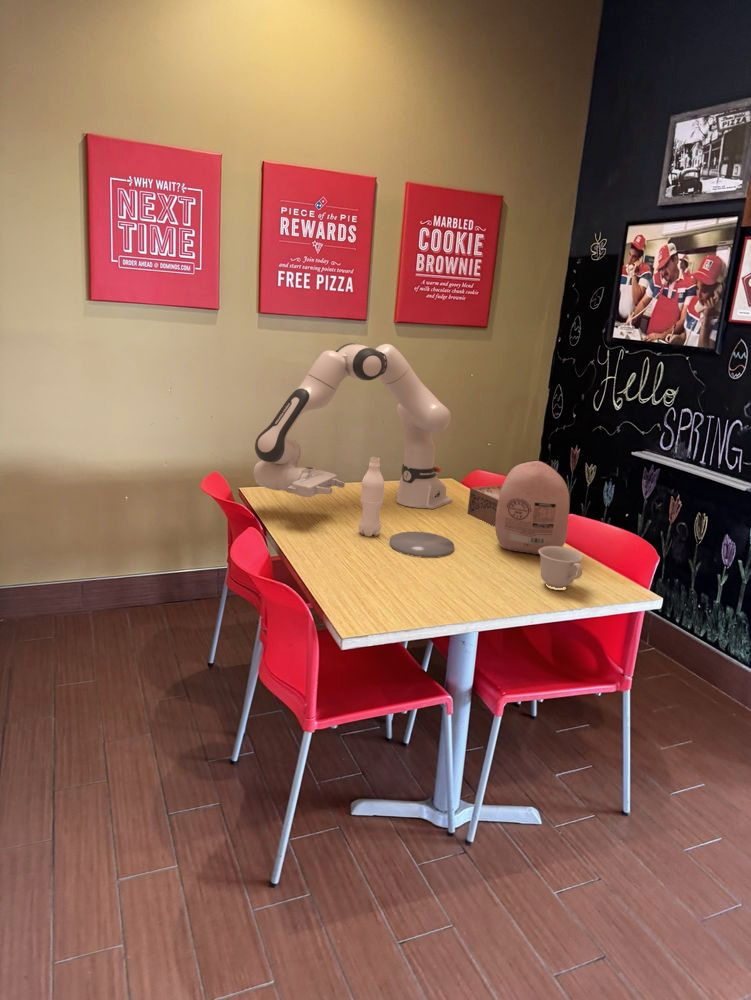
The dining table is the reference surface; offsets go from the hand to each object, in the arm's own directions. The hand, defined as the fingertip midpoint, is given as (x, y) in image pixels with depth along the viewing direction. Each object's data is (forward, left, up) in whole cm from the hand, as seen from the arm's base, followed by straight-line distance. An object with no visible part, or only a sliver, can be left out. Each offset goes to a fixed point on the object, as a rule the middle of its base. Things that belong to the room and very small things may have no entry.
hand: (337, 488), depth 231 cm
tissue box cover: (-55, +29, -14) cm, 63 cm away
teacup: (-17, +73, -13) cm, 76 cm away
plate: (-11, +28, -13) cm, 33 cm away
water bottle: (-5, +11, -13) cm, 18 cm away
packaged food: (-35, +51, -13) cm, 63 cm away
